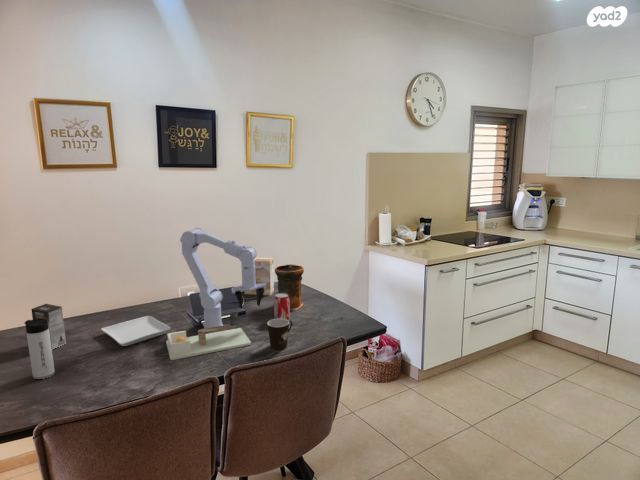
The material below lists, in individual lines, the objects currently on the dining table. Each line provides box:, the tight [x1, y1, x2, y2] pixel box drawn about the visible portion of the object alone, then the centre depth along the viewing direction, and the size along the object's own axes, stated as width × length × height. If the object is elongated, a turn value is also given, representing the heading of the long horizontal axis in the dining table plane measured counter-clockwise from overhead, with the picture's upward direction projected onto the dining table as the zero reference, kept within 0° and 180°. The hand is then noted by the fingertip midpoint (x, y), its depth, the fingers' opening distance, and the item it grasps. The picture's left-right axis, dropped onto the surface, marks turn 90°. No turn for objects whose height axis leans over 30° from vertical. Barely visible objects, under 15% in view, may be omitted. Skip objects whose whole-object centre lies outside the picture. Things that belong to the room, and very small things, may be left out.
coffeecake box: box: [244, 256, 275, 296], centre depth 227 cm, size 15×7×20 cm, turn 81°
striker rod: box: [197, 312, 239, 345], centre depth 167 cm, size 5×16×10 cm, turn 115°
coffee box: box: [31, 303, 67, 351], centre depth 163 cm, size 9×6×16 cm
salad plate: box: [100, 315, 172, 347], centre depth 175 cm, size 21×21×3 cm
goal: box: [166, 330, 190, 355], centre depth 161 cm, size 11×7×4 cm, turn 25°
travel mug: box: [24, 318, 55, 380], centre depth 140 cm, size 6×7×20 cm
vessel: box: [274, 263, 305, 311], centre depth 207 cm, size 14×14×20 cm
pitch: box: [165, 327, 252, 361], centre depth 166 cm, size 16×30×1 cm, turn 115°
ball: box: [175, 337, 186, 343], centre depth 161 cm, size 4×4×4 cm
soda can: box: [273, 293, 291, 321], centre depth 190 cm, size 7×7×12 cm
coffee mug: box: [266, 318, 293, 351], centre depth 164 cm, size 12×9×10 cm
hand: (249, 306), depth 178 cm, fingers open, 7 cm apart
